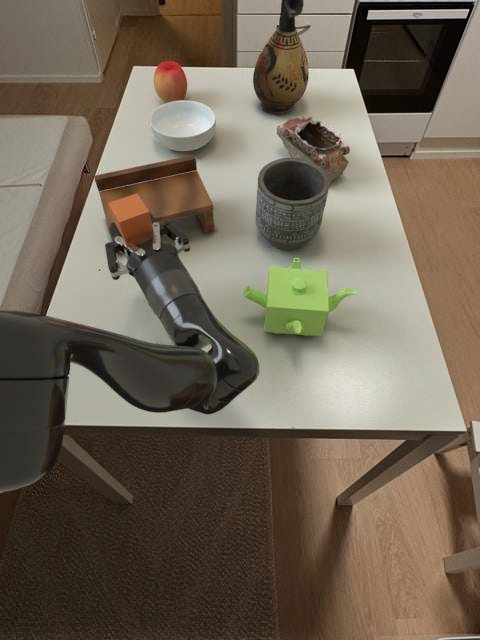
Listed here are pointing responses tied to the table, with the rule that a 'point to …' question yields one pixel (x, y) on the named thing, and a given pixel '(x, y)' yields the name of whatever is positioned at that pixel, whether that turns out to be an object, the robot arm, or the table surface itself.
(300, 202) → the planter
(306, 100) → the table surface
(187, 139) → the cereal bowl
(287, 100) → the ceramic jug
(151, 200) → the shelf
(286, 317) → the kettle
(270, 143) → the table surface
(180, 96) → the apple
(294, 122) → the decorative box
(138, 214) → the carton
